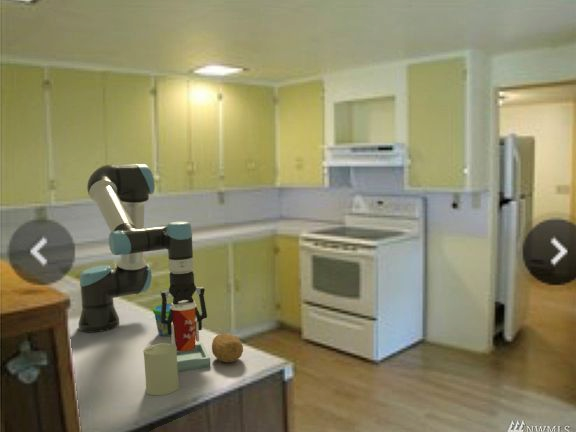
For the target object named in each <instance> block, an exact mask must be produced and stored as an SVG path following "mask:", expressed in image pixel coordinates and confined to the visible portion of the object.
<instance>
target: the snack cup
mask: <svg viewBox="0 0 576 432" xmlns="http://www.w3.org/2000/svg"><path fill="white" fill-rule="evenodd" d="M171 303H172V302H168V303H167V304H166V319H167V318H168V315H169V312H170V307H171ZM161 308H162V303H160V304H157V305H156V306H154V307H153V309H152V312H153V314H154V317H155V322H156V327H157V332H158V334H159V335H160V336H161V337H162V336H164V337H170V336H171V334H168V332H167V324H162V322H161ZM172 322H173V320H172Z"/></svg>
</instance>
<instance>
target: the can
mask: <svg viewBox="0 0 576 432" xmlns="http://www.w3.org/2000/svg"><path fill="white" fill-rule="evenodd" d="M143 357H144V358H143V359H144V361H143V362H144V372H145V373H144V374H145V392H146V393H147V394H148V395H152V396H163V395H164V396H165V395H169V394H172V393H174V392H176V391H177V390H178V389H179V388H180V384H179V374H178V373H179V372H178V371H177V347H176V344H175V345H174V344H172V343H165V342H161V343H156V344H151V345H149V346H146V347H145V348H144V349H143Z"/></svg>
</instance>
